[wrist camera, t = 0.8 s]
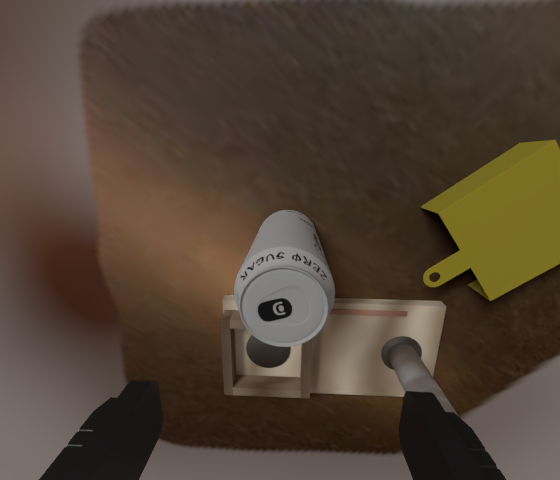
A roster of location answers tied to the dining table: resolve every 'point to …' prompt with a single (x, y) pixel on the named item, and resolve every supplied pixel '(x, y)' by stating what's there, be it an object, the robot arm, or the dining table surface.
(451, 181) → the dining table surface
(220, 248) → the dining table surface
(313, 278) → the energy drink can
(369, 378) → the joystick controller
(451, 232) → the bracket
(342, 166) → the dining table surface
